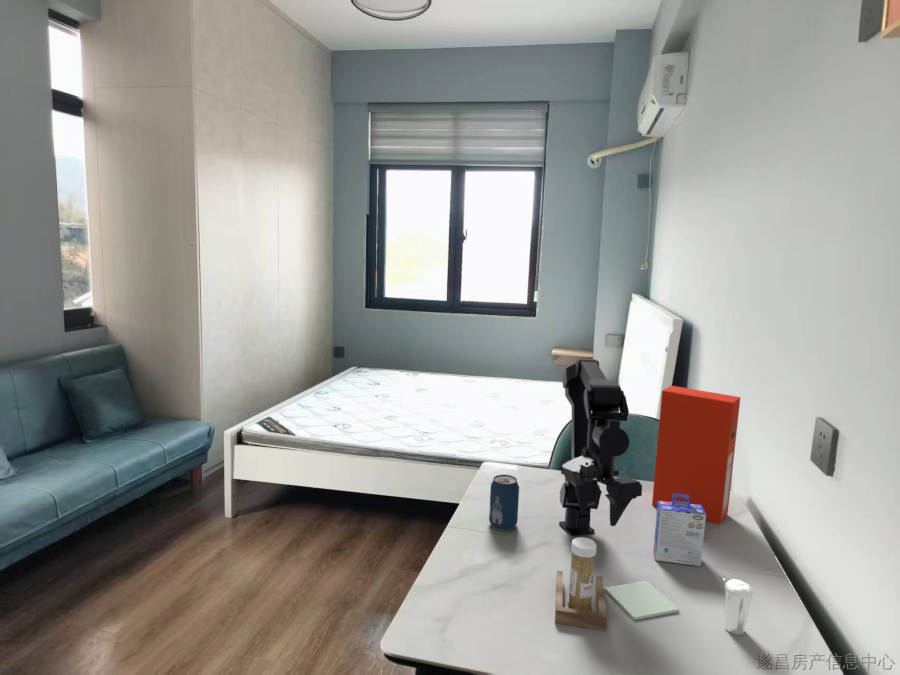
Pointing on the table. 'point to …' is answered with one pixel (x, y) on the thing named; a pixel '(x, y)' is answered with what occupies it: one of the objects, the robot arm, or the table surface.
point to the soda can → (504, 502)
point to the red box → (696, 449)
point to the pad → (641, 600)
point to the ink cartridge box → (679, 531)
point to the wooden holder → (580, 616)
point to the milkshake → (737, 605)
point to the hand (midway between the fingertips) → (597, 518)
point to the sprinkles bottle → (581, 574)
